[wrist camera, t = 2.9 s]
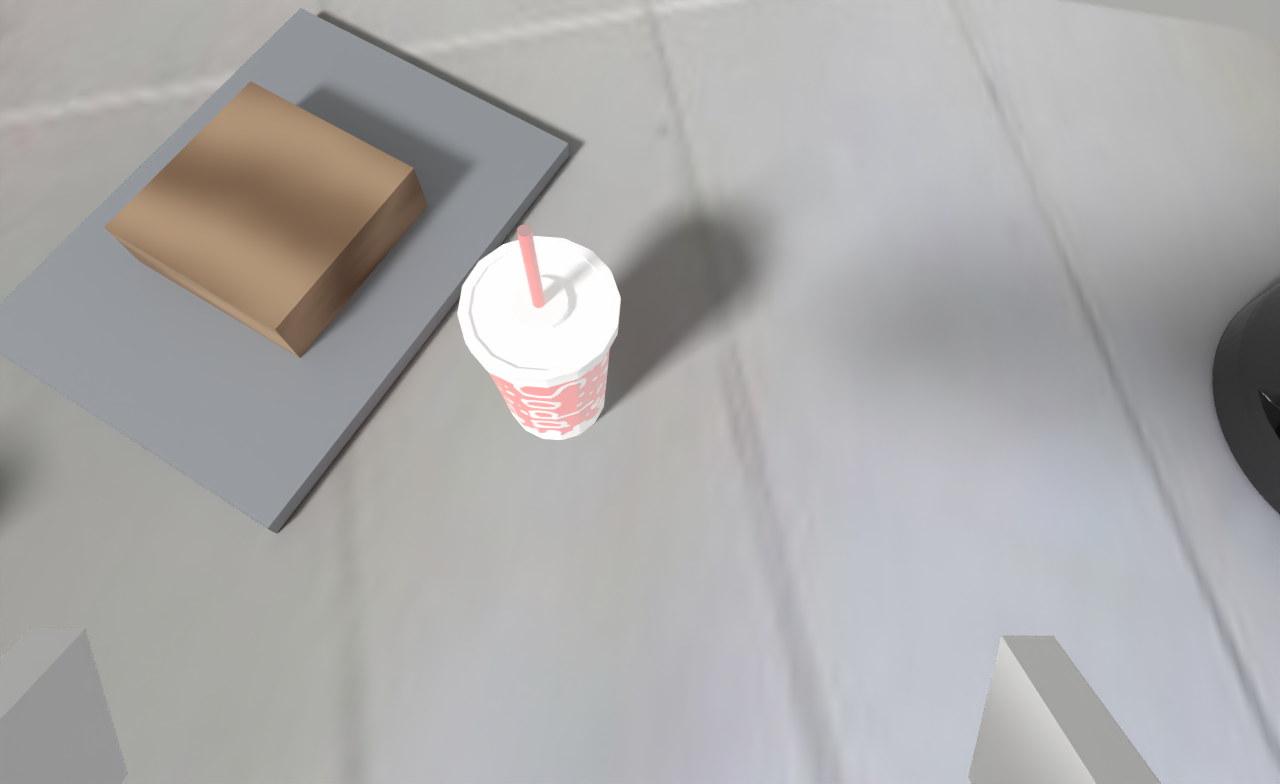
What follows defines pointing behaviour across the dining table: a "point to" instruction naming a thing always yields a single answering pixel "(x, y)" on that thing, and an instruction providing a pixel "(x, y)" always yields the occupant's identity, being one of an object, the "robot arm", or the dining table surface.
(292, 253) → the walnut pedestal
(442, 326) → the dining table surface
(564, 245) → the beverage cup
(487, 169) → the base board
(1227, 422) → the robot arm
